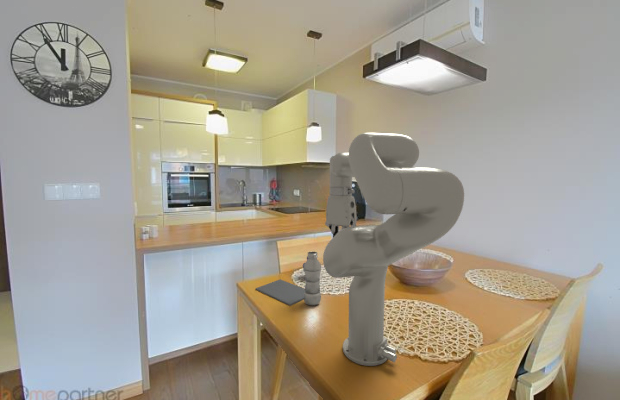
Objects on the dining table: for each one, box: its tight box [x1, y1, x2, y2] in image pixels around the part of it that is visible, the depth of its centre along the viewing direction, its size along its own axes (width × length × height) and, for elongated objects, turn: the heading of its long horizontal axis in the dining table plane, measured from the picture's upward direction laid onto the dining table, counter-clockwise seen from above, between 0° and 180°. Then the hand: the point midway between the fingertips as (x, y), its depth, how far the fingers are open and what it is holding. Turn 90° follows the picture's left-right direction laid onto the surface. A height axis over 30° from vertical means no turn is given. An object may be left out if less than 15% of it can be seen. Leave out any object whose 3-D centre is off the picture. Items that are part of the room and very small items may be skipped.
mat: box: [255, 278, 305, 307], centre depth 114 cm, size 22×14×1 cm, turn 47°
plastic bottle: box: [303, 251, 322, 306], centre depth 102 cm, size 6×7×20 cm
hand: (340, 245), depth 92 cm, fingers closed
